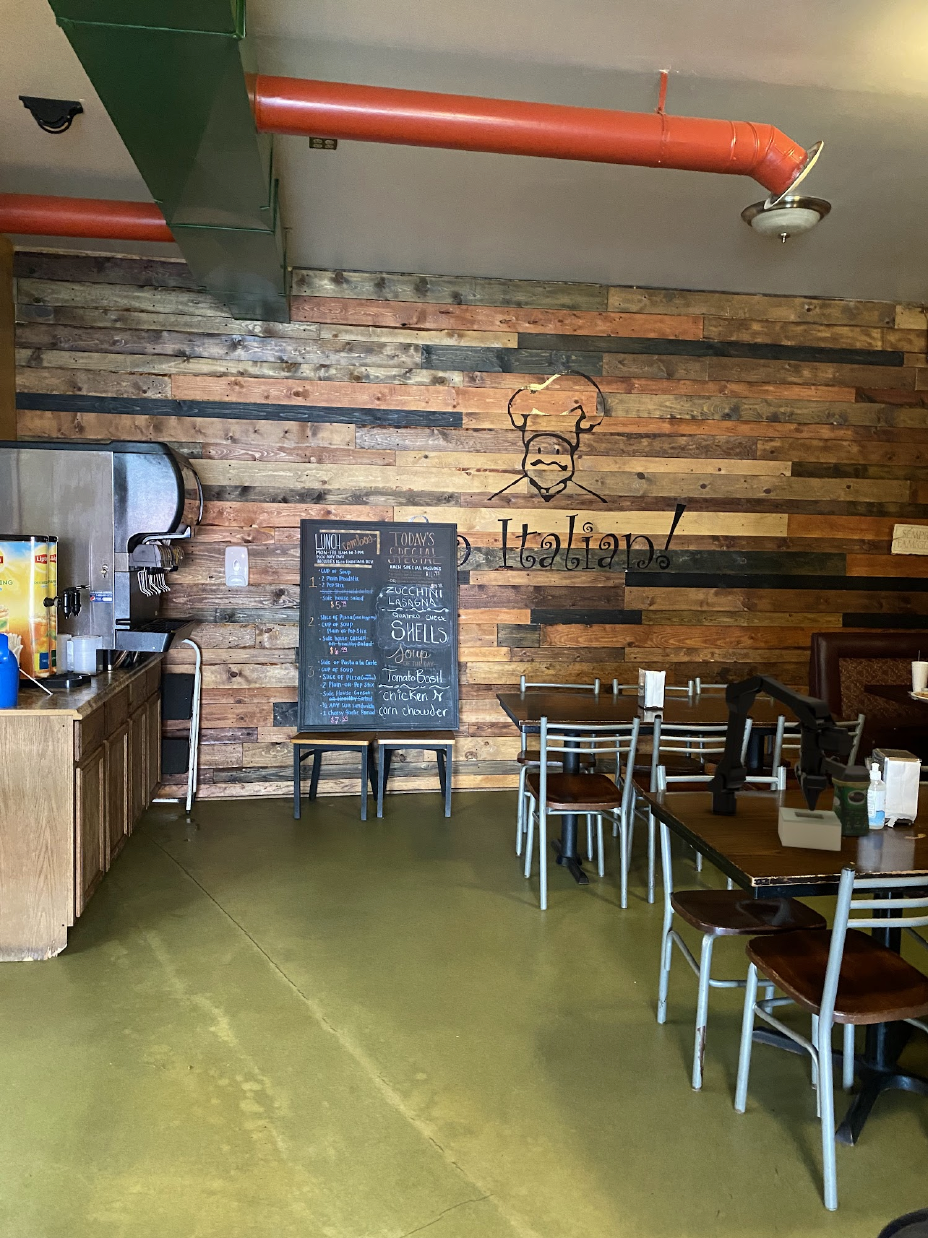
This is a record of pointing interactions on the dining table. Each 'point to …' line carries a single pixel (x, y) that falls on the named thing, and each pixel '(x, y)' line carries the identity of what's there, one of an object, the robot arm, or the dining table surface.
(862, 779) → the coffee jar
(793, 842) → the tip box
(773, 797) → the dining table surface
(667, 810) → the dining table surface
